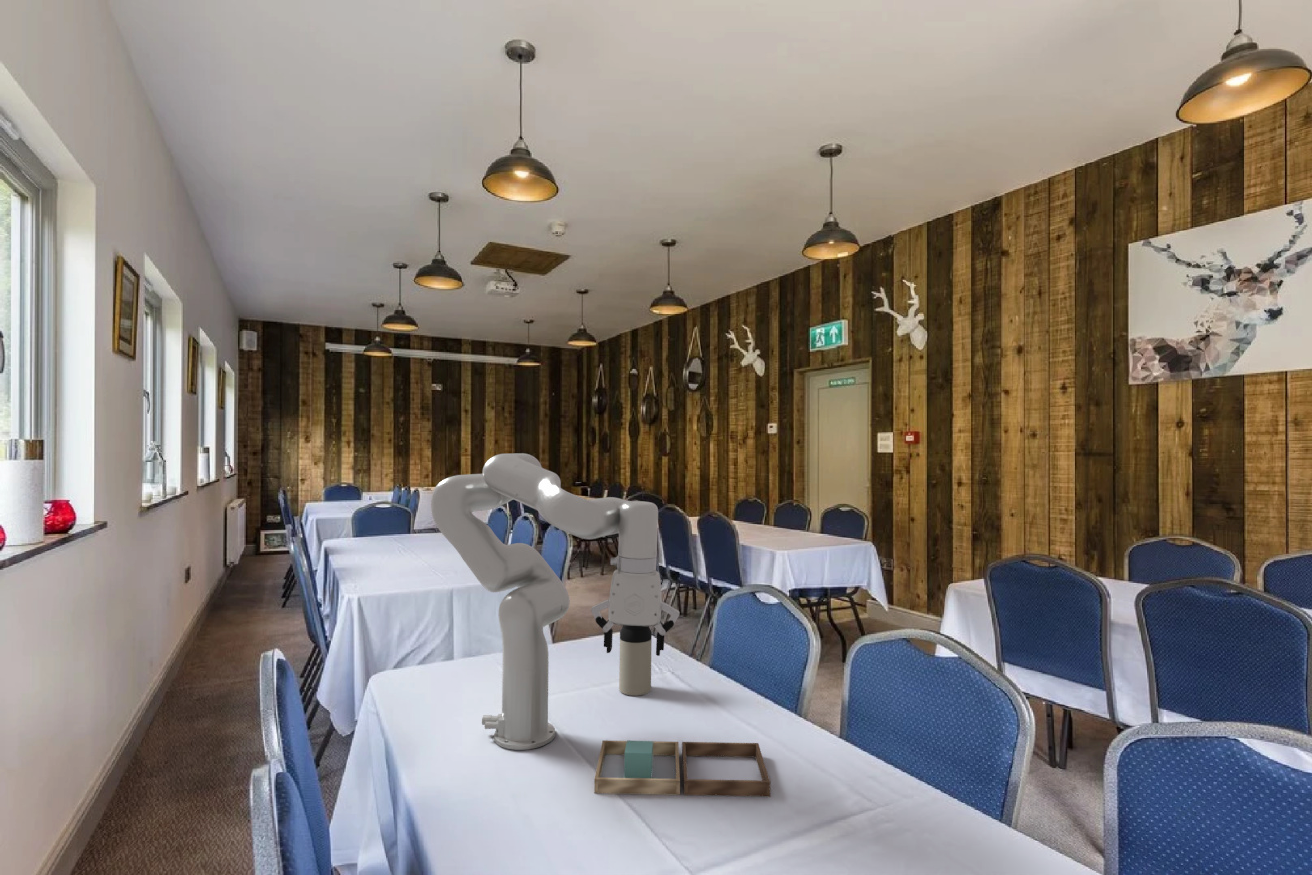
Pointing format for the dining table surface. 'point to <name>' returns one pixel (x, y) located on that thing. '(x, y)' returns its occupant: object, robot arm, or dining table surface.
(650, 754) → the teal cube
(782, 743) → the dining table surface
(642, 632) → the travel mug
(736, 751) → the walnut tray
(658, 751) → the oak tray
